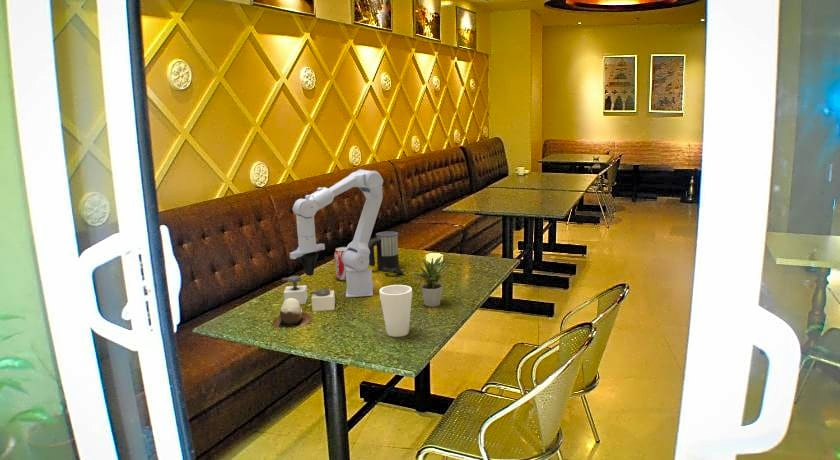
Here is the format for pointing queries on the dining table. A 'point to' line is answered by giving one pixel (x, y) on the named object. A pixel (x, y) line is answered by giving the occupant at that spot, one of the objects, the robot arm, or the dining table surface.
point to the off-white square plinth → (323, 302)
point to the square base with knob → (296, 293)
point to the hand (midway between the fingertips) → (309, 275)
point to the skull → (291, 314)
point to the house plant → (431, 282)
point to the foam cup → (396, 308)
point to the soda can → (340, 264)
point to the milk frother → (385, 252)
